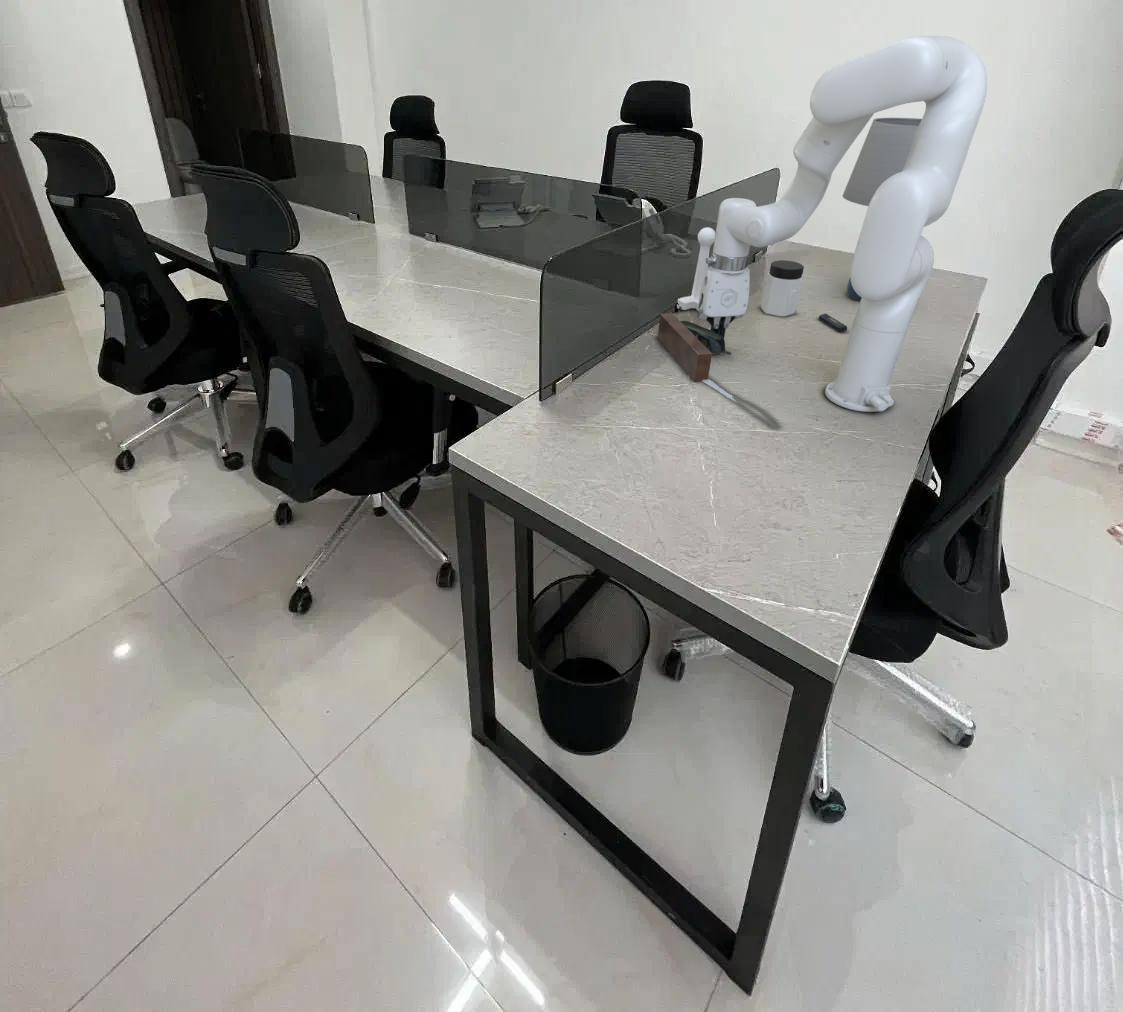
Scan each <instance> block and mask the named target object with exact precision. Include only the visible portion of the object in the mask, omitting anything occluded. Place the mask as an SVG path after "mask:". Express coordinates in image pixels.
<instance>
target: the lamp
mask: <svg viewBox="0 0 1123 1012" xmlns="http://www.w3.org/2000/svg"><path fill="white" fill-rule="evenodd" d="M921 120H922V118H916V117H914V118H913V117H876V118H873V120H872V122H871V125H870V127H869V128H868V129H869V130H868V132H867V135H866V137H865V139H864V142H863V144H862V147H861V149H860V152H859V154H858V156H857V159H856V161H855V164H854V166H853V169H852V171H851V174H850V176H849V179H848V180H847V183H846V186H845V188H844V191H843V193H842V198H843V199H845V200H846V201H848V202H850V203H854V204H855V205H856V204H857V205H860V206H863V207H864V206H866V207H868V206H869V204H870V201H871V199H872V197H873V195H874V194H875V192H876V190H877V189H878V188H879V186H880V185H881V184H882V183H883V182H884V181H885V180H887V179H888V178H889V177H891V176H893V175H895V174H897V173H899V172H902V170H903V168H904V166H905V163H906V160H907V157H908V154H909V152H910V148H911V145H912V141H913V138H914V135H915V132H916V130H917V128H918V126H919V124H920V122H921ZM846 290H847V291H846V293H847V295H848V296H849V297H850V298H851V299H853V300H855V301H858V302H860V301H861V298H862V297H860V296H859V295H858V294H857V293H856V292H855V290H854V289H853V287H852V284H851V279H850V277H849V278H848V282H847V286H846Z"/></svg>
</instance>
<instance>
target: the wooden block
mask: <svg viewBox="0 0 1123 1012" xmlns="http://www.w3.org/2000/svg"><path fill="white" fill-rule="evenodd" d="M658 321H659V322H658V330H657V340H658V342H660V343H661V344H662V346H664V348H665V349H666V351H668V353H670V355H671V356H672V357H673V358H674V359H675V361H676V362H677V363H678V364H679V365H680V366H681V368H682V369H683V370H684V371H685V372H686V373H687V374H688V375H689V377H690V378H691V379H692V381H694V382H702V380H708V379H709V376H710V371H711V370H710V369H711V364H712V359H713V354H712V353H711V352H710V351H709V350H708V349H707V348H706V347H705V346H704V345H703V344H702V343H701V342H700V341H699V340H698V339H697V338H696V337H695V336H694V335H693V334H692V333H691V332H690V331H689V330H688V329H687V328H686V327H685V326H684V325H683V324H682V323H681V321H682V320H680V319H679V318H678V317H677V316H676V315H675V314H673V312H669V313H667V312H666V313H660V314H659V320H658Z"/></svg>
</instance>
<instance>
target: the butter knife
mask: <svg viewBox="0 0 1123 1012" xmlns="http://www.w3.org/2000/svg"><path fill="white" fill-rule="evenodd" d="M701 382H702V383H704V384H706V385H707V386H709V387H711V388H713V389H714V390H715V391H717V392H719V393H720V394H722V395H724V397H726V398H728V399H730V400H732V401H734V402H736V403H738V401H737V400H735V398H734V396H733V395H732V394H730V393H728V392H727V391H725V390H724V389H723V388H721V387H720V386H719V385H717V384H716V383H715V382H714V381H713V380H711V379H710V378H708V380H702V381H701Z"/></svg>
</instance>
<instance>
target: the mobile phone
mask: <svg viewBox="0 0 1123 1012" xmlns="http://www.w3.org/2000/svg"><path fill="white" fill-rule="evenodd" d="M680 321H681V323H682V324H683V325H684V326H685V327H686V328H687V329H688V330H689V331H690V332H691V333H692V334H693V335H694V336H695V337H696V338H697V339H698V340H699V341H700V342H701V343H702V344H703V345H704V346H705V347H706V348H707V349H708V350H709V351H710V352H711V353H712V355H713V354H714V355H721V354H725V355H728V356H732V352H731V351H728V350H726V341H725V337H724V338H723V337H722V336H721V335H720V334H717V333H715V332H713V331H712V330H711V329H709V328H707V327H704V326H701V325H699V324H697V323H694V322H691V321H688V320H680Z"/></svg>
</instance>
